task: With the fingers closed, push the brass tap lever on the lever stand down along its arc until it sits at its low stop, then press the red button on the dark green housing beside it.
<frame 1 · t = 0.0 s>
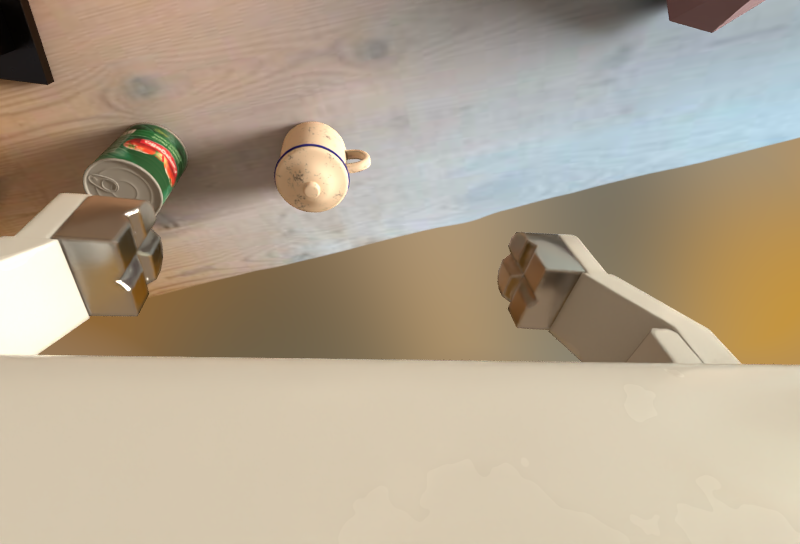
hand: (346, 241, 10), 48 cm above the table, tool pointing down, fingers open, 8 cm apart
teacup with lid: (325, 149, 58), on the table
canned tomato: (156, 151, 55), on the table
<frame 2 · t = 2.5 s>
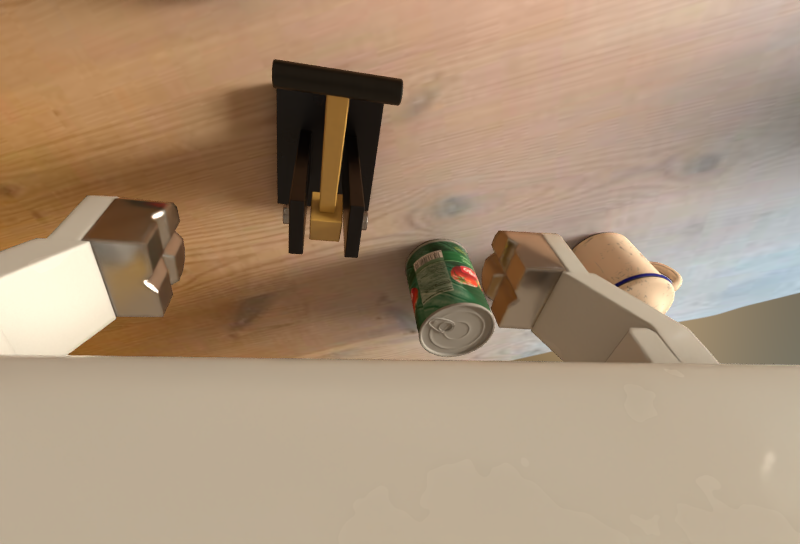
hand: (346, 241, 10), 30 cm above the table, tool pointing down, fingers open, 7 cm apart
tap lever: (330, 168, 25), point 14 cm above the table, hinge at 26.0°
teacup with lid: (605, 256, 53), on the table
lever stand: (327, 150, 39), on the table
canned tomato: (436, 264, 50), on the table
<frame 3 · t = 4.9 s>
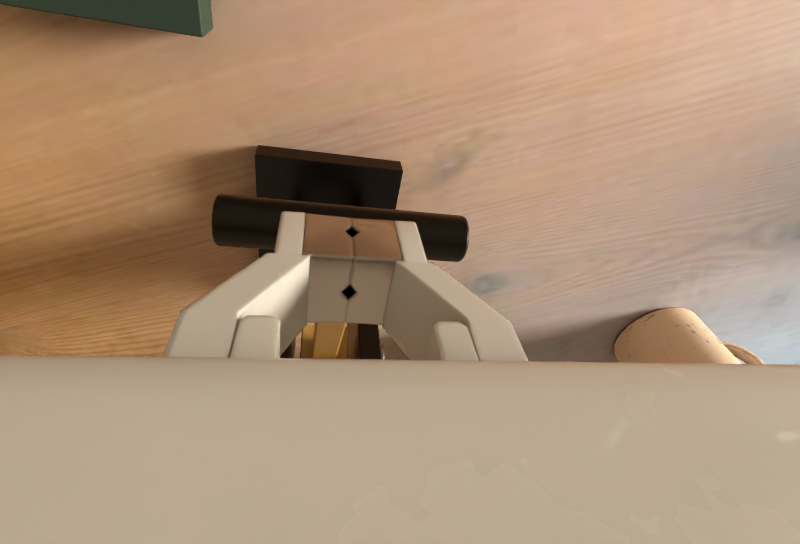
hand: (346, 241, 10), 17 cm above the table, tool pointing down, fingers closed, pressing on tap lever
tap lever: (330, 319, 16), point 14 cm above the table, hinge at 23.8°, touching gripper
teacup with lid: (665, 331, 44), on the table
lever stand: (326, 225, 30), on the table
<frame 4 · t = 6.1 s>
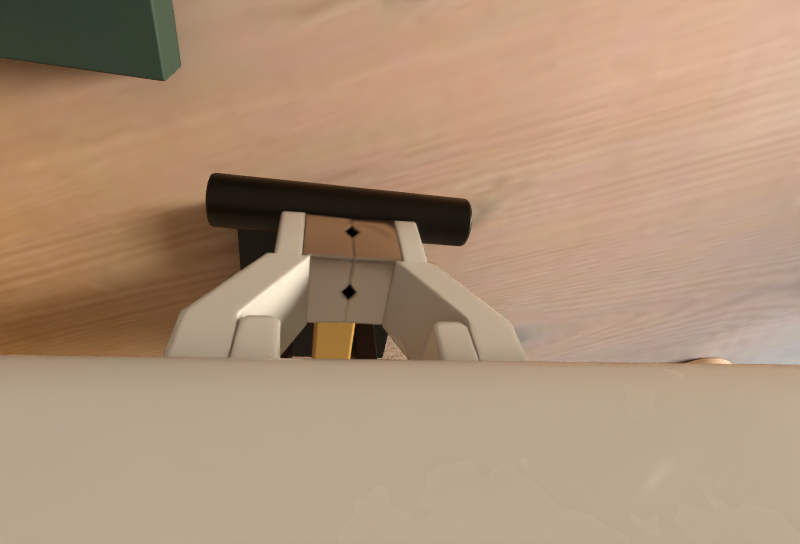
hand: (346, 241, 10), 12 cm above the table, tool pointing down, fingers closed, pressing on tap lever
tap lever: (326, 388, 13), point 12 cm above the table, hinge at -4.7°, touching gripper
lever stand: (322, 282, 26), on the table
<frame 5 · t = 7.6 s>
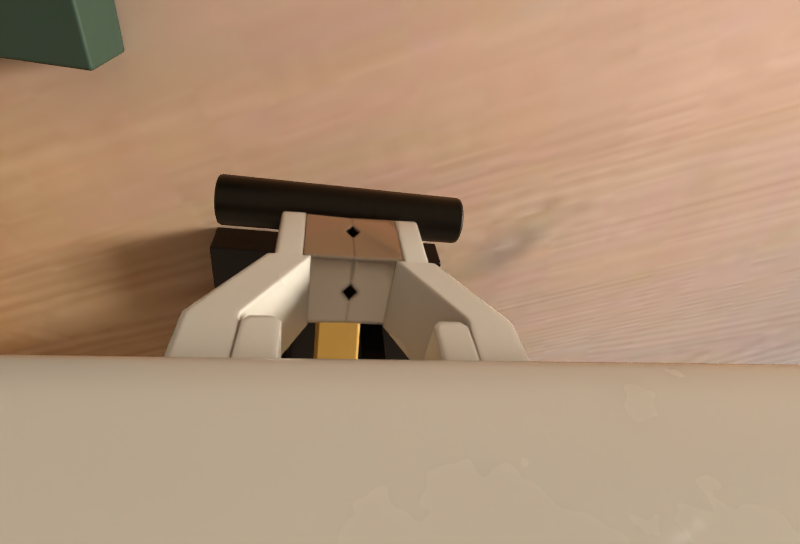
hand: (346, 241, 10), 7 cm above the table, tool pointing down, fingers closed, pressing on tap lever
tap lever: (328, 450, 11), point 9 cm above the table, hinge at -34.0°, touching gripper
lever stand: (323, 325, 21), on the table
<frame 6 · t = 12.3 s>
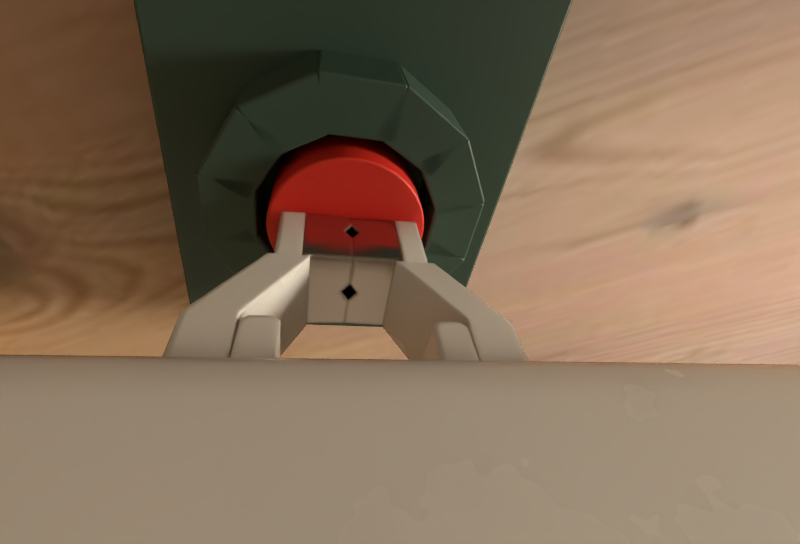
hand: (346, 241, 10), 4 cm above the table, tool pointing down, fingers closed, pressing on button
button housing: (343, 152, 13), on the table
button: (346, 211, 10), point 4 cm above the table, slide at -0.9 cm, touching gripper
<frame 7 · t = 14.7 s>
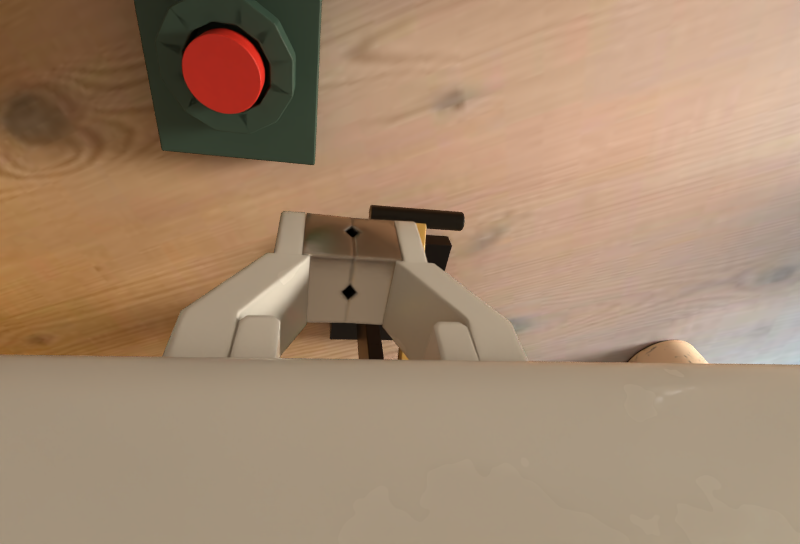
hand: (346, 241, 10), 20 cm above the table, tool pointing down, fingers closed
button housing: (240, 54, 24), on the table
tap lever: (410, 317, 27), point 9 cm above the table, hinge at -32.6°
teacup with lid: (666, 359, 50), on the table
lever stand: (385, 285, 36), on the table
button: (225, 72, 21), point 4 cm above the table, slide at 0.1 cm
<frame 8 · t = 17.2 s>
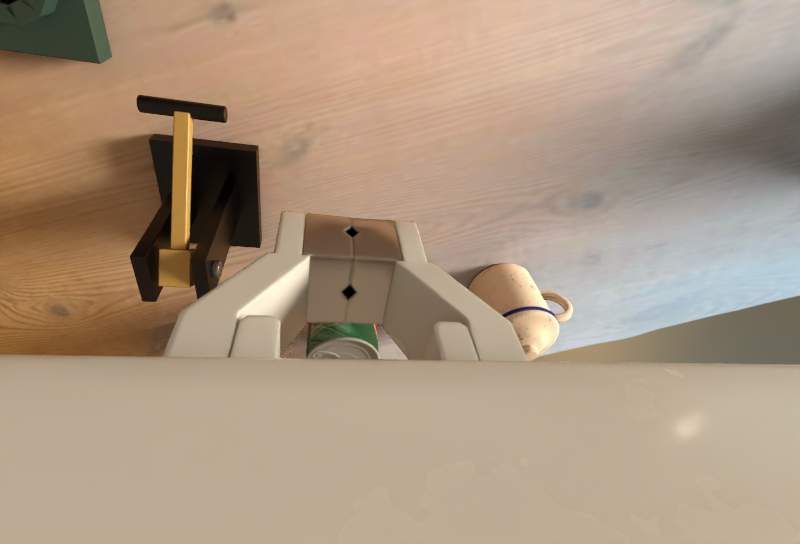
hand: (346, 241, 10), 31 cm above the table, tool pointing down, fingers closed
tap lever: (181, 194, 32), point 9 cm above the table, hinge at -32.6°
teacup with lid: (508, 284, 55), on the table
lever stand: (213, 192, 41), on the table
canned tomato: (341, 293, 52), on the table
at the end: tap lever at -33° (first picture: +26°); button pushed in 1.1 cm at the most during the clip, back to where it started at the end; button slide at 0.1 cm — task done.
